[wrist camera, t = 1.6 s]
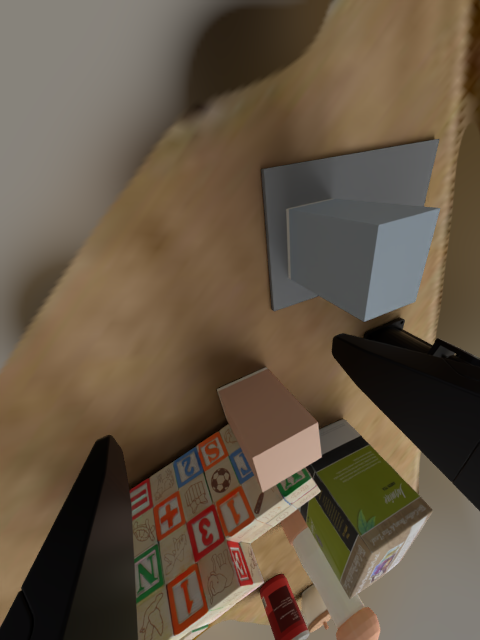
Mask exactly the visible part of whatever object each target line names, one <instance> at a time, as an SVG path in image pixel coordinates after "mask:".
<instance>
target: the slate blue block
mask: <svg viewBox="0 0 480 640" xmlns="http://www.w3.org/2000/svg"><path fill="white" fill-rule="evenodd" d="M439 211H440V208H432V207H421V206H410V205H398V204H387V203H376V202H365V201H354V200H342V199H328V200H323V201H319V202H314V203H310V204H306V205H301V206H297V207H292V208H288V209H286V218H287V248H288V278H289V279H291V280H293V281H295V282H296V283H298V284H300V285H301V286H303V287H305V288H307V289H308V290H310V291H312V292H313V293H315V294H317V295H319V296H320V297H322V298H324V299H325V300H327V301H329V302H331V303H332V304H334V305H336V306H338V307H339V308H341V309H343V310H344V311H346V312H348V313H350V314H351V315H353V316H355V317H356V318H358V319H360V320H362V321H363V322H365V321H368V320H370V319H373V318H375V317H378V316H380V315H383V314H385V313H388V312H390V311H393V310H395V309H398V308H400V307H403V306H405V305H408V304H411V303H413V302H415V301H416V297H417V293H418V290H419V286H420V282H421V278H422V275H423V271H424V267H425V263H426V260H427V256H428V252H429V248H430V245H431V241H432V237H433V233H434V230H435V226H436V222H437V218H438V215H439Z"/></svg>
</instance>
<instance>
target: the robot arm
mask: <svg viewBox="0 0 480 640" xmlns="http://www.w3.org/2000/svg"><path fill="white" fill-rule="evenodd" d="M404 322H405V320H404V319H402V318H399V319H397V320H394V321H392V322H389V323H387V324H385V325H382V326H380V327H377V328H375V329H372V330H370V331H368V332H366V333H365V335H364V338H360V337H356V336H352V335H348V334H344V333H342V334H339V335H337V336H335V337H334V338H333V342H332V354H333V357H334V358H335V359H336V361H337V362H338V363H339V364H340V365H341V367H342V368H343V369H344V370H345V372H346V373H347V374H348V375H349V377H350V378H351V379H352V380H353V382H354V383H355V384H356V385H357V386H358V387H359V388H360V389H361V390H362V391H363V392H364V393H365V394H366V396H367V397H368V398H369V399H370V400H371V401H372V402H373V403H374V404H375V405H376V406H377V407H378V408H379V409H380V410H381V411H382V412H383V413H384V414H385V415H386V416H387V417H388V418H389V419H390V420H391V421H392V422H393V423H394V424H395V425H396V426H397V427H398V428H399V429H400V430H401V431H402V432H403V433H404V434H405V435H406V436H407V437H408V438H409V439H410V440H411V441H412V442H413V443H414V444H415V445H416V446H417V447H418V448H419V449H420V450H421V451H422V452H423V453H424V455H425V456H426V457H427V458H429V460H430V461H431V462H432V463H433V464H434V465H435V466H436V467H437V468H439V470H440V471H441V472H442V473H443V474H444V475H445V476H446V477H447V478H448V479H449V480H450V481H451V482H452V483H453V484H454V485H455V486H456V487H457V488H458V489H459V490H460V491H461V492H462V493H463V494H464V495H465V496H466V497H467V498H468V499H469V500H470V501H471V503H473V505H474V506H475V507H476V508H477V509H478V510H479V511H480V358H478V357H476V356H474V355H472V354H470V353H468V352H466V351H464V350H462V349H460V348H458V347H456V346H454V345H452V344H449V343H447V342H445V341H442V340H440V339H438V338H437V339H436V340H435V341H434V342H435V343H434V344H433V345H431V344H429V343H427V342H425V341H424V340H422V339H420V338H418V337H416V336H414V335H412V334H410V333H408V332H407V331H405V330H403V326H404ZM454 353H456V356H454ZM21 589H22V591H20V592H19V593H18V594H17V596H16V598H15V600H14V602H13V604H12V606H11V608H10V610H9V612H8V614H7V616H6V618H5V620H4V621H3V623H2V625H1V627H0V640H138V626H137V606H136V585H135V565H134V544H133V524H132V506H131V497H130V491H129V485H128V479H127V473H126V467H125V461H124V455H123V452H122V449H121V447H120V446H119V445H118V443H117V442H116V440H115V439H114V438H113V436H111V435H107V436H105V437H103V438H100V439H98V440H97V441H96V442H95V444H94V446H93V448H92V450H91V452H90V454H89V456H88V458H87V460H86V462H85V464H84V465H83V467H82V469H81V471H80V473H79V475H78V477H77V479H76V481H75V483H74V485H73V487H72V489H71V491H70V493H69V495H68V497H67V499H66V501H65V503H64V505H63V507H62V509H61V510H60V512H59V514H58V516H57V518H56V520H55V522H54V524H53V526H52V528H51V530H50V532H49V534H48V536H47V538H46V540H45V542H44V544H43V546H42V548H41V550H40V552H39V553H38V555H37V557H36V559H35V561H34V563H33V565H32V567H31V569H30V571H29V573H28V575H27V577H26V579H25V581H24V583H23V585H22V587H21Z"/></svg>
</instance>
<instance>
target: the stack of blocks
mask: <svg viewBox="0 0 480 640" xmlns="http://www.w3.org/2000/svg"><path fill="white" fill-rule="evenodd" d="M129 491H130V497H131V506H132V524H133V544H134V565H135V585H136V606H137V626H138V640H192V639H193V638H194V637H196V636H197V635H198V634H200V633H201V632H202V631H204V630H205V629H206V628H207V627H208V624H210V623H211V622H213V621H214V620H216V619H217V618H218V617H219V616H221V615H222V614H223V613H225V612H226V611H227V610H229V609H230V608H231V607H233V606H234V605H235V604H236V603H237V602H239V601H240V600H242V599H243V598H244V597H246V596H247V595H248V594H250V593H251V592H252V591H254V590H255V589H256V588H258V587H259V586H260V585H262V584H263V583H264V581H263V578H262V575H261V573H260V570H259V567H258V564H257V562H256V559H255V556H254V553H253V550H252V548H251V545H250V544H251V543H252V542H253V541H254V540H256V539H257V538H259V537H260V536H261V535H263V534H264V533H265V532H267V531H268V530H269V529H270V528H272V527H273V526H275V525H277V524H278V523H279V522H281V521H282V520H284V519H285V518H286V517H288V516H289V515H290V514H292V513H293V512H294V511H296V510H297V509H298V508H299V507H301V506H302V505H304V504H305V503H306V502H308V501H309V500H311V499H312V498H313V497H315V496H316V495H317V494H319V493H320V492H321V491H320V489H319V488H318V486H317V484H316V483H315V481H314V480H313V478H312V476H311V475H310V473H309V472H308V470H307V468H306V467H305V468H303V469H301V470H300V471H298V472H296V473H295V474H293V475H291V476H290V477H288V478H286V479H285V480H283V481H281V482H280V483H278V484H276V485H275V486H273V487H271V488H270V489H268V490H266V491H264V492H262V490H261V488H260V486H259V484H258V482H257V480H256V478H255V476H254V474H253V472H252V470H251V468H250V466H249V464H248V462H247V460H246V458H245V456H244V454H243V451H242V449H241V447H240V445H239V443H238V441H237V439H236V437H235V435H234V433H233V431H232V429H231V427H230V425H229V424H228V425H226V426H225V427H224V428H222V429H221V430H220V431H218V432H216V433H215V434H213V435H212V436H210V437H209V438H207V439H206V440H204V441H203V442H201V443H200V444H198V445H197V446H196V447H194V448H193V449H191V450H190V451H188V452H187V453H185V454H184V455H182V456H181V457H179V458H178V459H176V460H175V461H174V462H172V463H171V464H169V465H167V466H166V467H164V468H163V469H161V470H160V471H158V472H157V473H155V474H154V475H152V476H151V477H150V478H148V479H146V480H144V481H143V482H141V483H140V484H138V485H137V486H135V487H134V488H132V489H131V490H129Z"/></svg>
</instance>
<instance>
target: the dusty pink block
mask: <svg viewBox="0 0 480 640" xmlns="http://www.w3.org/2000/svg"><path fill="white" fill-rule="evenodd" d="M217 392H218V395H219V398H220V401H221V404H222V407H223V410H224V413H225V416H226V419H227V421H228V423H229V425H230V427H231V429H232V431H233V433H234V435H235V437H236V439H237V441H238V443H239V445H240V447H241V449H242V451H243V454H244V456H245V458H246V460H247V462H248V464H249V466H250V468H251V470H252V472H253V474H254V476H255V478H256V480H257V482H258V484H259V486H260V488H261V490H262V492H264V491H266V490H268V489H270V488H271V487H273V486H275V485H276V484H278V483H280V482H281V481H283V480H285V479H286V478H288V477H290V476H291V475H293V474H295V473H296V472H298V471H300V470H301V469H303V468H305V467H306V466H308V465H310V464H311V463H313V462H315V461H316V460H318V459H320V458H322V455H321V445H320V436H319V427H318V422H317V420H316V419H315V418H314V417H313V416H312V415H311V414H310V413H309V412H308V411H307V410H306V409H305V408H304V407H303V406H302V405H301V403H300V402H299V401H298V400H297V399H296V398H295V397H294V396H293V395H292V394H291V393H290V392H289V391H288V390H287V389H286V387H285V386H284V385H283V384H282V383H281V382H280V381H279V380H278V379H277V378H276V377H275V376H274V375H273V374H272V373H271V371H270V370H269V369H268V368H267V367H265V368H263V369H261V370H258V371H256V372H254V373H252V374H250V375H247V376H245V377H243V378H241V379H238V380H236V381H234V382H232V383H230V384H227V385H225V386H223V387H221V388H218V389H217Z"/></svg>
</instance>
